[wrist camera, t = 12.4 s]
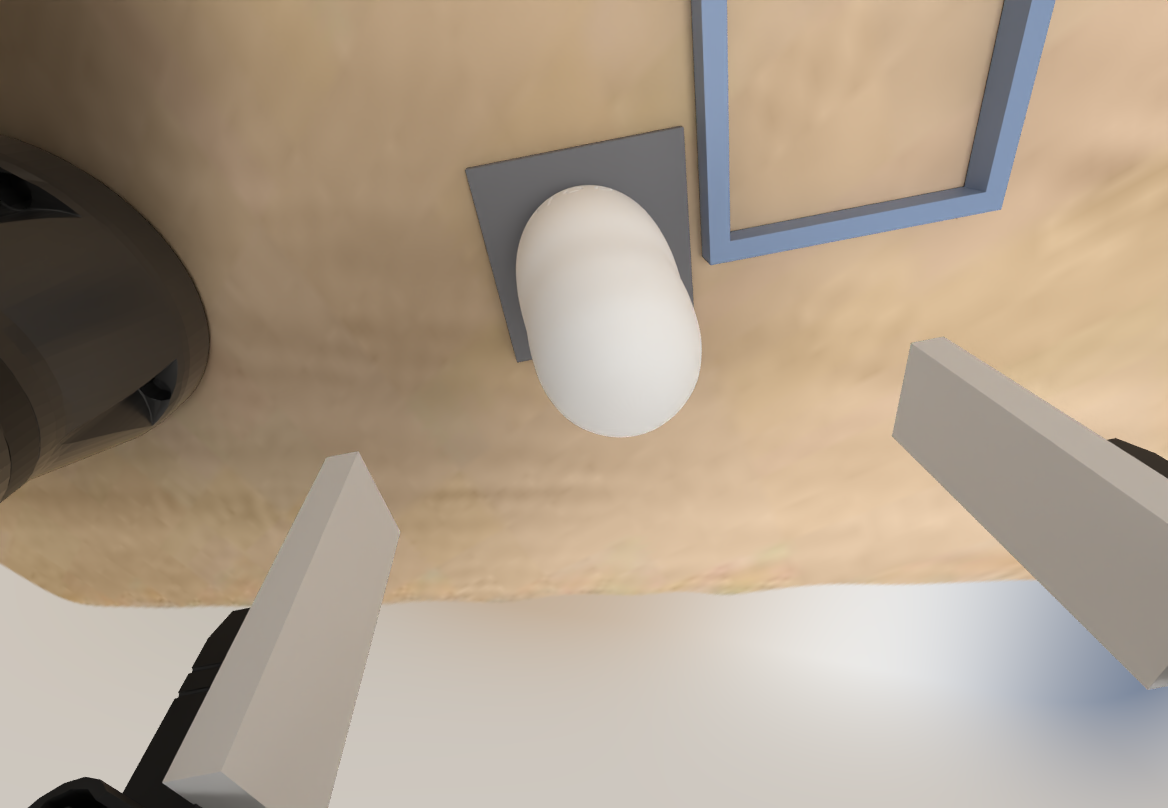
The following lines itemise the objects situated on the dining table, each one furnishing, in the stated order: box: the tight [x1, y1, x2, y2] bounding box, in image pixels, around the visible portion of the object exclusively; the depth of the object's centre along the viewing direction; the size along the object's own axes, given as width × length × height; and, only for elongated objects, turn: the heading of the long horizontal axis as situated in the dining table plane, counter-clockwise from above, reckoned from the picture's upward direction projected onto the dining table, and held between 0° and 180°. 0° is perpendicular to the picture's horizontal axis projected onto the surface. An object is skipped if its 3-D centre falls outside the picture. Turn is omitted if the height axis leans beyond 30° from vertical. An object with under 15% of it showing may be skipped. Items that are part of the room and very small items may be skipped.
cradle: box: [691, 0, 1055, 265], centre depth 22 cm, size 14×14×2 cm
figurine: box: [516, 185, 702, 437], centre depth 21 cm, size 7×8×12 cm
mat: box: [465, 126, 694, 362], centre depth 26 cm, size 10×10×1 cm
